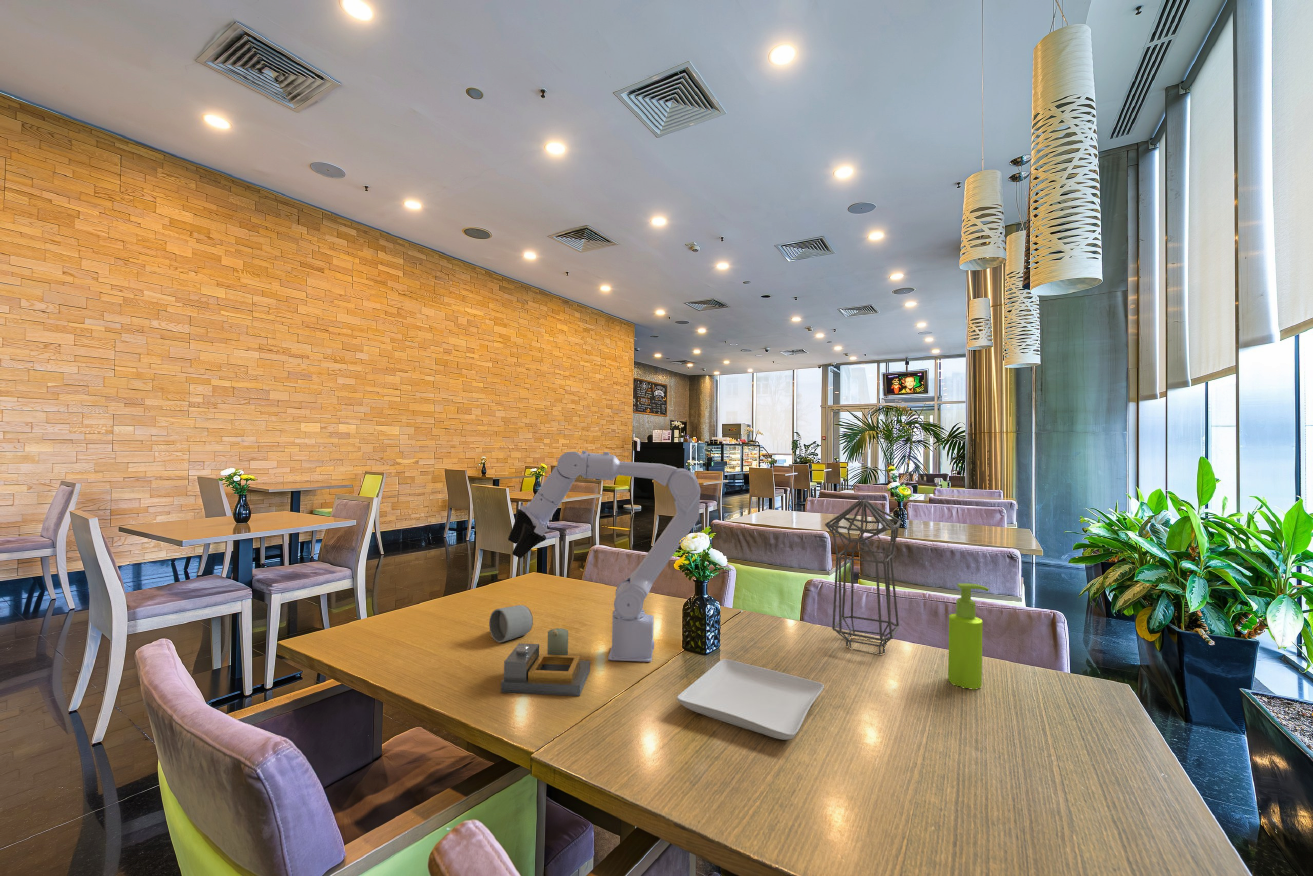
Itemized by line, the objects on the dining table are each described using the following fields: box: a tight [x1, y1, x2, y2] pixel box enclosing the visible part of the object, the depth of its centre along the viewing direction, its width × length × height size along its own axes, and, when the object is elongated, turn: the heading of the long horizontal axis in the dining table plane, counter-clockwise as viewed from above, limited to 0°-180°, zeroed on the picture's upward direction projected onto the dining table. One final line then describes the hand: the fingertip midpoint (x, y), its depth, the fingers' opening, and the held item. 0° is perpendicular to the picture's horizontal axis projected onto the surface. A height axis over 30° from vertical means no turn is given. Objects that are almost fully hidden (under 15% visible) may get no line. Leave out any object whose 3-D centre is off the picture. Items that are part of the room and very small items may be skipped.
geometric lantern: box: [824, 499, 903, 655], centre depth 126 cm, size 16×16×35 cm
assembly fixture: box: [500, 642, 591, 697], centre depth 105 cm, size 15×11×7 cm
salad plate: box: [676, 658, 825, 741], centre depth 96 cm, size 21×21×3 cm
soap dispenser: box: [947, 582, 990, 690], centre depth 107 cm, size 6×7×20 cm
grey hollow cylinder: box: [488, 604, 534, 643], centre depth 128 cm, size 11×8×8 cm
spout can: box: [546, 627, 569, 655], centre depth 114 cm, size 4×6×8 cm
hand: (514, 548), depth 118 cm, fingers open, 7 cm apart
